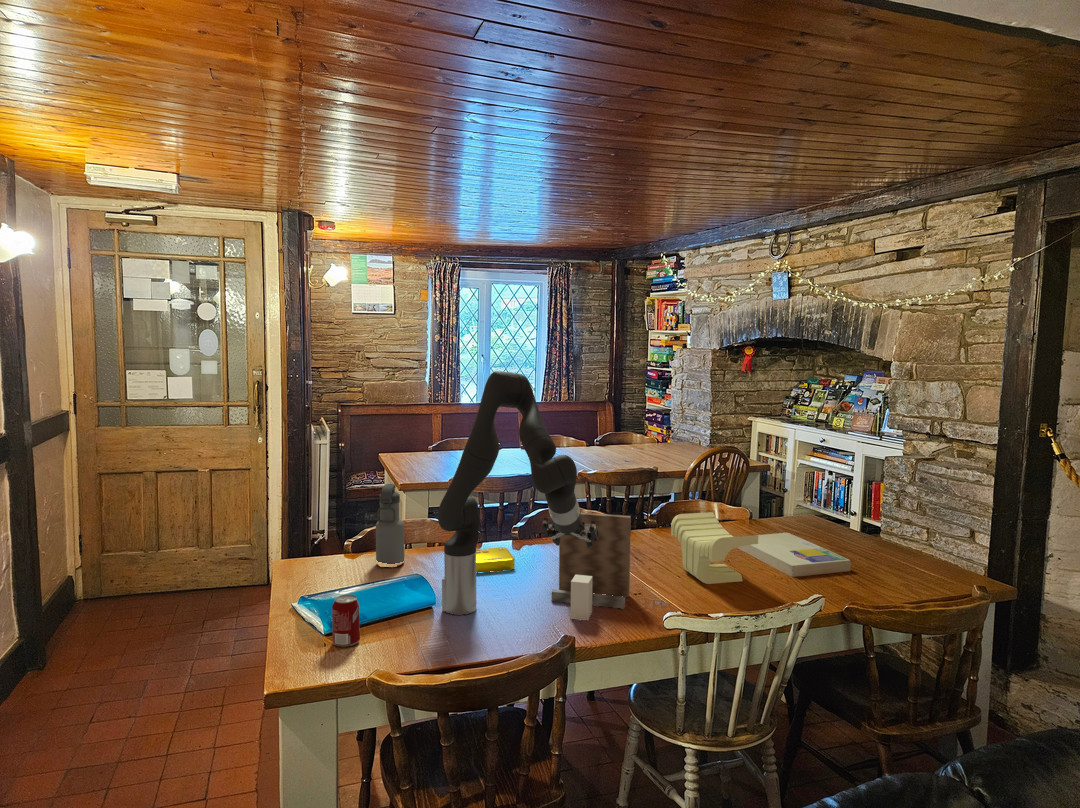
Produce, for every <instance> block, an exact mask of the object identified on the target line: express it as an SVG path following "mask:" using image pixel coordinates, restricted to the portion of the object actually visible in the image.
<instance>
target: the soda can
mask: <svg viewBox="0 0 1080 808" xmlns="http://www.w3.org/2000/svg"><path fill="white" fill-rule="evenodd" d="M357 598H358V597H357V595H354V594H351V593H350V594H348V593H347V594H346V593H345V594H340V595H337V596H335V598H334V600H333V603H332V605H331V618H332V620H331V621H332V623H331V624H332V625H331V626H332V644H333V645H334V646H337V647H339V646H341V647H340V648H348V646H350V647H352V646H354V645H356V644H358V643H359V642H360V640H361V632H360V631H361V629H360V627H361V625H360V623H361V622H360V621H361V620H360V602H359V601H358V600H357Z"/></svg>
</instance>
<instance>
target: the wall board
mask: <svg viewBox="0 0 1080 808" xmlns="http://www.w3.org/2000/svg"><path fill="white" fill-rule="evenodd" d="M581 516H582V521H583V522H584V523H585V524H591V521H595V523H596V526H597V528H598V531H599V534H598V540H597V541H593V546H591V548H588V547H587V543H586V540H584V539H580V538H578V537H576V536H572V535H562V536H560V543H559V547H558V548H559V550H558V551H559V554H558V555H559V556H558V557H559V559H558V566H559V567H558V589H552V590H551V602H553V601H556V602H555V603H562V602H566V603H565V604H571V581H572V579H573V578H574V576H575V575H586V576H592V605H595V606H594V607H599V606H604V607H603V608H608V607H613V608H612V609H617V608H621V609H620V610H625V608H626V598H628V597H630V592H631V591H630V589H631V585H630V583H631V581H630V580H631V536H632V532H631V531H632V529H631V528H632V527H631V526H632V525H631V524H632V521H631V520H632V518H631V517H632V516H631V515H624V514H623V515H621V514H606V513H592V512H581ZM580 534H581V533H580ZM586 536H587V534H586ZM593 593H595V594H593ZM602 594H606V595H602ZM612 595H613V596H612ZM622 596H623V597H622Z"/></svg>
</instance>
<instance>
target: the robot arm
mask: <svg viewBox="0 0 1080 808" xmlns="http://www.w3.org/2000/svg"><path fill="white" fill-rule="evenodd" d="M479 402H480V403H479V406H478V411H477V413H476V417H475V420H474V422H473V423H474V424H473V425H472V429H471V431H470V434H469V436H468V439H467V441H466V443H465V445H464V449H463V451H462V454H461V457H460V460H459V463H458V466H457V468H456V470H455V473H454V476H453V477H452V480H451V482H450V484H449V486H448V488H447V490H446V492H445V494H444V495H443V497H442V499H441V502H440V504H439V506H438V510H437V521H438V524H439V527H440V528H441V529H442V530H443V531H445V532H454V534H453V535H452V536H451V537H449V539H447V540H446V541H445V543H444V546H443V547H444V548H443V550H444V551H443V553H444V554H443V555H444V557H443V558H444V562H443V563H444V576H443V578H442V579H441V612H445V611H446V612H445V613H447V614H449V613H450V614H449V615H453V614H454V615H455V616H464V615H463V614H465V615H469V613H470V614H472V613H474V612H476V610H477V574H476V549H477V547H478V546H477V545H478V544H479V538H480V533H479V532H480V515H481V514H480V507H479V504H478V502H477V500H476V499H475V498H474V497H473V496H471V494H472V493H473V492H474V490H475V489H476V488H477V487H478V486H480V484H482V482H483V481H484V480H485V479H486V478H487V477H488V476H489V474H490V473H491V472H492V470H493V469H494V466H495V463H496V461H497V458H498V455H499V452H500V442H499V437H498V434H497V431H496V427H495V418H496V414H497V411H498V409H499V408H500V407H501V408H508V409H510V408H511V409H517V410H518V411H519V412H520V414H521V416H522V418H521V421H520V424H519V429H518V437H519V440H520V442H521V445H522V447H523V449H524V450H525V453H526V455H527V457H528V460H529V464H530V473H531V474H530V475H531V480H532V484H533V487H534V488H535V489H536V490H537V492H539V493H542V494H544V496H545V500H546V503H547V507H548V514H549V516H550V519H551V520H549V519H548V518H547V517H544V518H543V519H542V525H541V529H542V533H543V537H544V538H549V537H550V538H551V540H552V542H553V544H555V546H559V543H560V536H562V535H572V536H576V537H578V538H580V539H584V540H586V543H587V547H588V548H591V546H593V541H597V540H598V534H599V531H598V528H597V526H596V523H595V521H591V524H585V523H584V522H583V521H582V516H581V513H582V511H581V510H580V505H579V502H578V500H577V497H576V493H575V489H576V486H577V485H576V484H577V479H578V470H577V465H576V463H575V461H574V460H573V459H572V457H571V456H569V455H568V454H567V455H566V454H559V455H557V456H555V455H556V452H557V447H556V443H555V442H554V441H553V439H552V437H551V435H550V433H549V431H548V430H547V427H546V426H545V424H544V422H543V419H542V417H541V412H540V410H539V407H538V404H537V400H536V397H535V394H534V391H533V388H532V385H531V383H530V380H529V379H528V377H527V376H525V375H524V374H522V373H521V374H520V373H517V372H515V373H514V372H508V371H502V370H496V371H493V372H492V373H490V375H489V376H488V378H487V379H486V382H485V385H484V389H483V392H482V396H481V399H480V401H479ZM551 528H552V529H551ZM580 533H581V534H580ZM586 534H587V536H586Z"/></svg>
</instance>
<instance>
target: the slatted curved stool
mask: <svg viewBox="0 0 1080 808" xmlns="http://www.w3.org/2000/svg"><path fill="white" fill-rule="evenodd" d="M758 535H759V534H754V536H753V535H741V536H733V535H732V534H730V533H729V532H728V531H727V530H726V529H725V528H724V527H723V526H722V524H721V523H720V521H719V520H718V518H716V516H715V514H714V512H713V511H711V512H710V511H708V512H694V513H693V512H692V513H680V514H676V515H675V516H674V517H673V519H672V521H671V526H670V536H674V537H675V538H677V540H678V542H679V544H681V545H680V548H681V557H682V558H681V559H682V567H683V569H684V570H685V571H687V572H688V573H689V574H691V575H692V576H693V577H694V578H696V579H698V581H700V582H702V583H703V584H707V585H712V584H724V583H725V584H726V583H733V582H734V583H735V582H736V583H737V582H743V577H742V574H741V573H740V572H739V571H736V570H735V569H733V568H731V567H730V566H728V565H727V564H725V563H721V564H719V563H718V564H717V562H725V559H726V556H727V554H729V552H730V551H731V550H734V549H738V548H737V547H740V546H745V545H752V544H758ZM715 562H716V563H715ZM711 563H715V564H711Z"/></svg>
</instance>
